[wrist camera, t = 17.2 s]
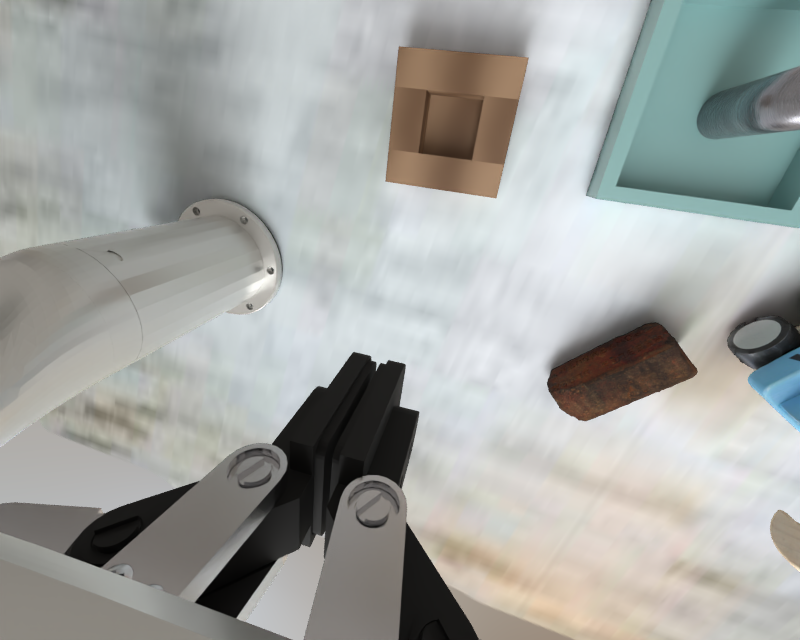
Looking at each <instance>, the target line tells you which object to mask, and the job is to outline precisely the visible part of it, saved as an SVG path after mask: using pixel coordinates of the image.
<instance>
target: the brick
mask: <svg viewBox="0 0 800 640" xmlns="http://www.w3.org/2000/svg"><path fill="white" fill-rule="evenodd" d="M697 372H698V371H697V368H696V367H695V366H694V365H693V364H692V362H691V361H690V360H689V358H688V357H687V356H686V354H685V353H684V351H683V350H682V349H681V347H680V346H679V344H678V343H677V342H676V340H675V339H674V338H673V337H672V336H671V335H670V334H669V333H668V331H667V330H666V329H665V328H664V327H663V326H662V325H659V324H658V323H656V322H655V323H648V324H645V325H643V326H642V327H639V328H637V329H635V330H634V331H632V332H630V333H628V334H625V335H623V336H620V337H616V338H614V339H613V340H611V341H609V342H607V343H605V344H603V345H601V346H598V347H596V348H595V349H593V350H591V351H589V352H587V353H585V354H583V355H581V356H579V357H577V358H575V359H573V360H571V361H569V362H567V363H565V364H563V365H561V366H559V367H557V368H555V369H553V370H552V371H551V373H550V377H549V379H548V382H547V385H548V388H549V389H548V390H549V392H550V393H551V395H552V397H553V398H554V399H555V401H556V402H557V404H558V405H559V408H560V409H561V410H563V411H564V412H566V413H567V414H569V415H570V416H574V417H575V418H577V419H578V420H582V421H588V420H591V419H594V418H596V417H598V416H601V415H604V414H606V413H608V412H611V411H613V410H615V409H617V408H619V407H622V406H625V405H628V404H630V403H632V402H633V401H636V400H639V399H641V398H644V397H646V396H649V395H651V394H653V393H655V392H660V391H661V390H664V389H666V388H669V387H672V386H674V385H676V384H678V383H680V382H683V381H686V380H688V379H690V378H693V377H694V376H695V375H696V374H697Z"/></svg>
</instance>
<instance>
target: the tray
mask: <svg viewBox="0 0 800 640" xmlns="http://www.w3.org/2000/svg"><path fill="white" fill-rule="evenodd" d="M798 66H800V0H651V3H650V6H649V9H648V12H647V15H646V18H645V21H644V24H643V27H642V30H641V33H640V36H639V39H638V42H637V45H636V48H635V51H634V54H633V57H632V60H631V63H630V66H629V69H628V72H627V75H626V78H625V81H624V84H623V87H622V90H621V93H620V96H619V99H618V102H617V105H616V108H615V111H614V114H613V117H612V120H611V123H610V126H609V129H608V132H607V135H606V138H605V141H604V144H603V147H602V150H601V153H600V156H599V159H598V162H597V165H596V168H595V171H594V174H593V177H592V180H591V183H590V186H589V189H588V192H587V195H586V196H589V197H592V198H595V199H602V200H608V201H615V202H622V203H629V204H636V205H643V206H650V207H657V208H663V209H670V210H677V211H684V212H691V213H698V214H705V215H712V216H718V217H725V218H732V219H739V220H746V221H753V222H760V223H767V224H773V225H780V226H787V227H794V228H800V130H795V131H786V132H777V133H769V134H760V135H751V136H742V137H733V138H725V139H708V138H706V137H704V136H702V135H701V134H700V132H699V131H698V128H697V116H698V113H699V111H700V109H701V107H702V106H703V105H704V103H705V102H706V101H707V100H708V99H709V98H710V97H712V96H713V95H715V94H716V93H718V92H721V91H724V90H727V89H730V88H733V87H736V86H739V85H742V84H745V83H748V82H751V81H755V80H758V79H761V78H764V77H767V76H770V75H773V74H776V73H779V72H782V71H786V70H789V69H792V68H795V67H798Z"/></svg>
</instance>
